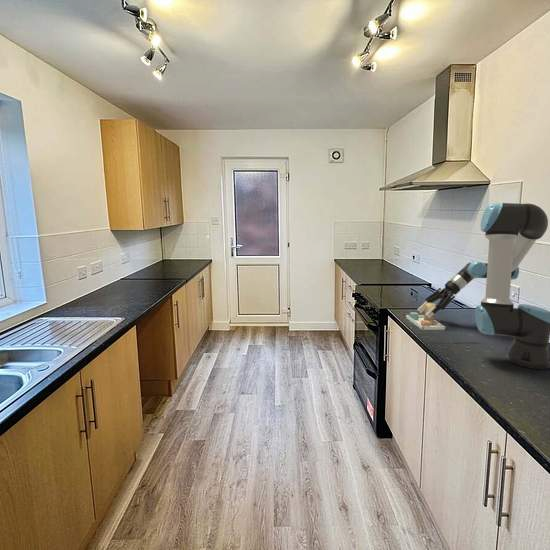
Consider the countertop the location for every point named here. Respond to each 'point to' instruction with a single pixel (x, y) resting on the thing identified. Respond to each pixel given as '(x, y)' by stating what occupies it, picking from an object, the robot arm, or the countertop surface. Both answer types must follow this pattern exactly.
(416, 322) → the parts tray
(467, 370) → the countertop surface
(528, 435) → the countertop surface
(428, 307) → the turned wooden pepper mill
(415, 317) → the teal block
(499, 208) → the robot arm
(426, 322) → the terracotta block
